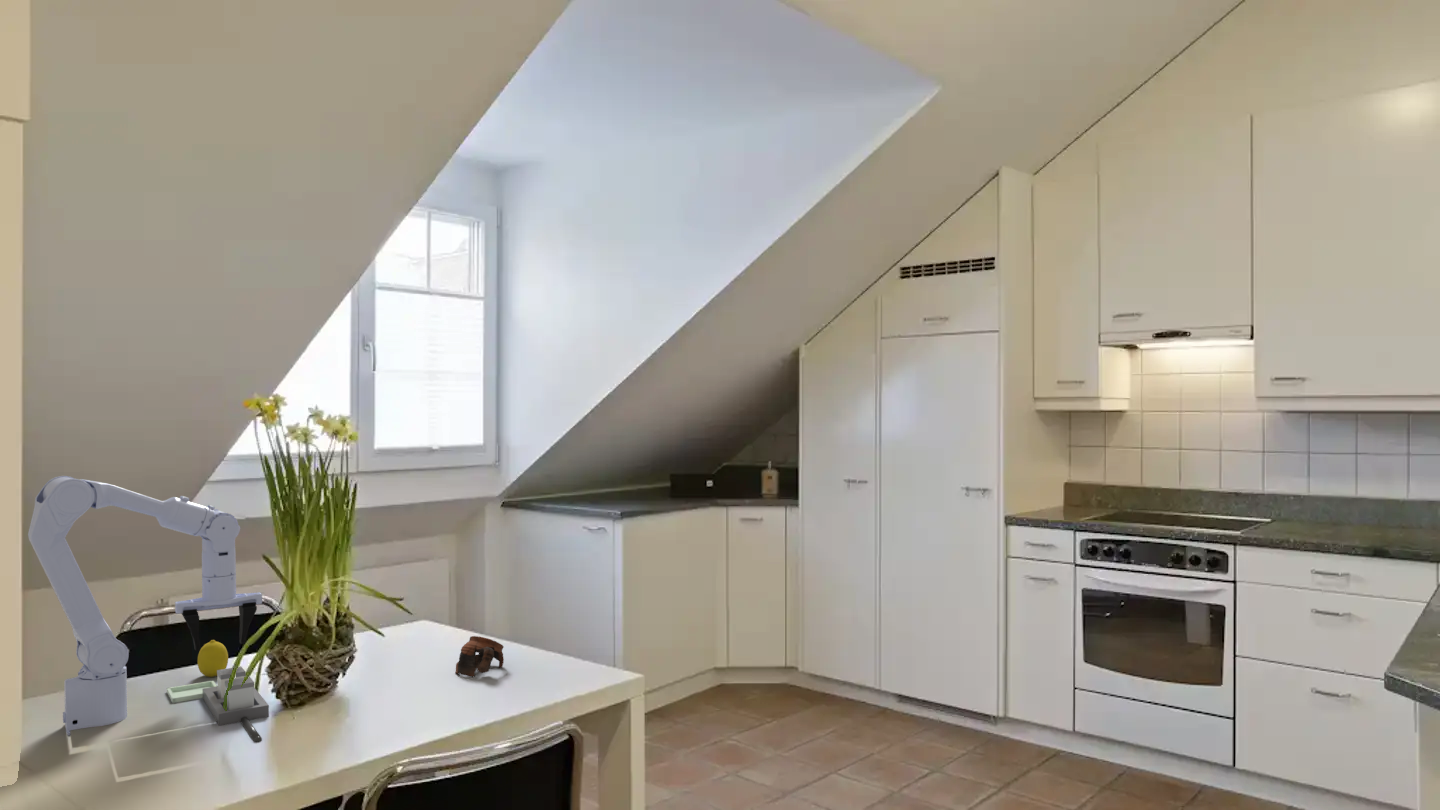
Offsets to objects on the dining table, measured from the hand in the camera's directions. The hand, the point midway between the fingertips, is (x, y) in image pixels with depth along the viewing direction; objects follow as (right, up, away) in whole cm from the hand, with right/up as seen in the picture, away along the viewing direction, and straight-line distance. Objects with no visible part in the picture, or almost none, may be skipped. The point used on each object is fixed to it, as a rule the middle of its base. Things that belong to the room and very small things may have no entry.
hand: (220, 646), depth 184 cm
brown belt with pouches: (+45, -10, +17) cm, 49 cm away
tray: (-6, -10, +1) cm, 12 cm away
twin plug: (+9, -10, -10) cm, 17 cm away
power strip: (+10, -10, -11) cm, 18 cm away
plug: (+4, -10, -4) cm, 11 cm away
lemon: (-8, -10, +13) cm, 19 cm away
